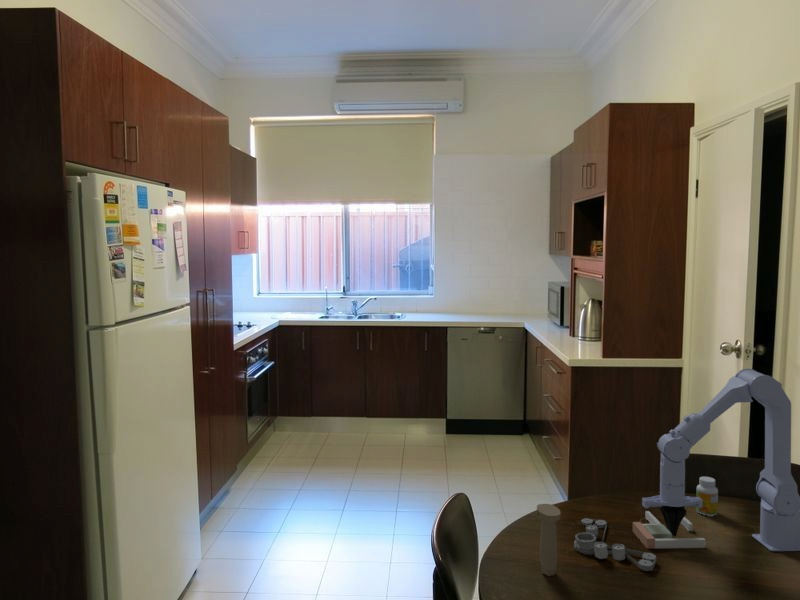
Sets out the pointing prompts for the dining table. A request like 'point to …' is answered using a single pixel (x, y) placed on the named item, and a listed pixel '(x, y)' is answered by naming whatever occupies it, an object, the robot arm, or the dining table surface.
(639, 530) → the block
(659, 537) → the block
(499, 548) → the dining table surface
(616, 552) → the pulley system
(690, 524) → the channel
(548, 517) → the handle
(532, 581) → the dining table surface
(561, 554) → the dining table surface
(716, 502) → the supplement bottle
